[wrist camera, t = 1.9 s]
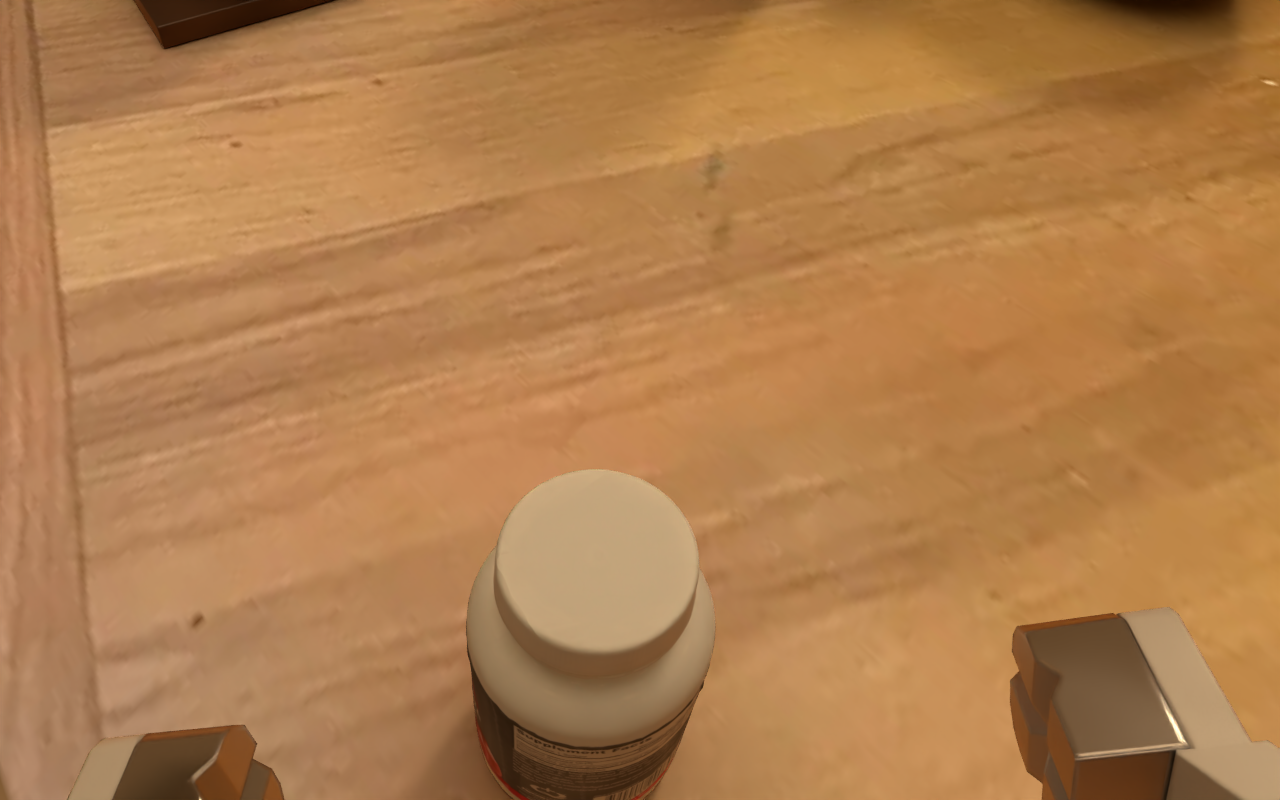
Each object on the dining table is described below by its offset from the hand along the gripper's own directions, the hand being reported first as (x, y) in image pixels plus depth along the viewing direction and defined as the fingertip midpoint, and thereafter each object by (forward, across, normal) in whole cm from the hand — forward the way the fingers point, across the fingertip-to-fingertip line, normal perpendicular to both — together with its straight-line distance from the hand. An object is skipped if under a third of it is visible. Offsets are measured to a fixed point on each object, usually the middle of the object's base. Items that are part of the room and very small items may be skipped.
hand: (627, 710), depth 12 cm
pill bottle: (+11, +4, +14) cm, 18 cm away
